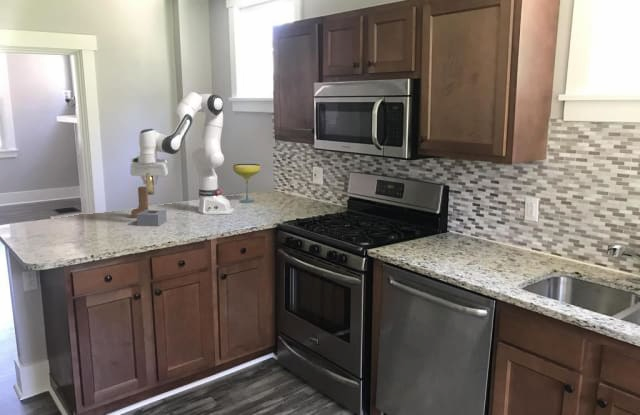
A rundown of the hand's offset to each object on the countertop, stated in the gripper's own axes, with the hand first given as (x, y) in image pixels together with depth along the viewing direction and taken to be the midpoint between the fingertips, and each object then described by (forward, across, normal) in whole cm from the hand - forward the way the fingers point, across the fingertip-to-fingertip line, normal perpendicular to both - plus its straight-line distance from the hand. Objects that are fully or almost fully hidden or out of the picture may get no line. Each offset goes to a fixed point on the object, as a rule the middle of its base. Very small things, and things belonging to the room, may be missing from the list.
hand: (150, 184), depth 288 cm
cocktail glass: (+22, -38, -71) cm, 84 cm away
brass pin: (+6, 0, 0) cm, 6 cm away
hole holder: (+22, 0, 0) cm, 22 cm away
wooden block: (+22, +13, -14) cm, 30 cm away
